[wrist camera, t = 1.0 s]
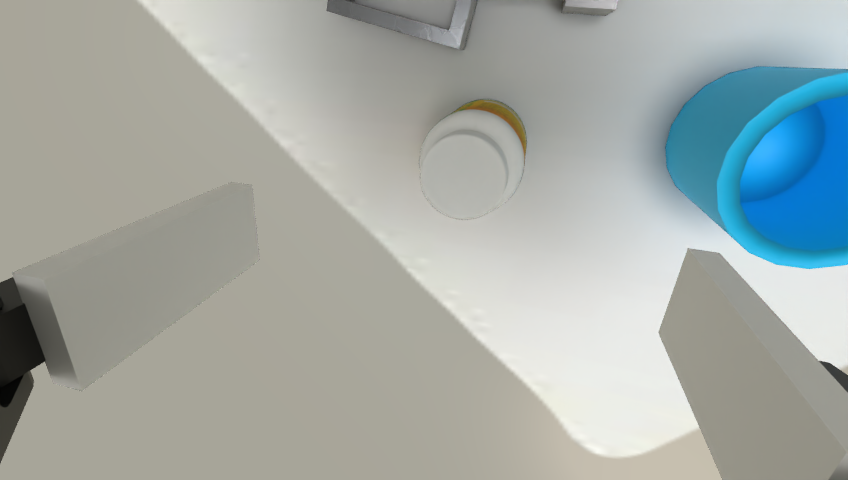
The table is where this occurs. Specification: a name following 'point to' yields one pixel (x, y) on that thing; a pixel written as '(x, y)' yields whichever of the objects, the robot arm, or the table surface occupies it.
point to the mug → (770, 161)
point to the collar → (412, 21)
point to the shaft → (589, 7)
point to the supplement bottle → (473, 159)
